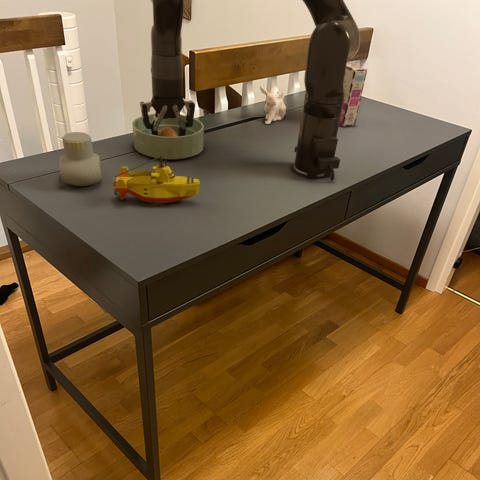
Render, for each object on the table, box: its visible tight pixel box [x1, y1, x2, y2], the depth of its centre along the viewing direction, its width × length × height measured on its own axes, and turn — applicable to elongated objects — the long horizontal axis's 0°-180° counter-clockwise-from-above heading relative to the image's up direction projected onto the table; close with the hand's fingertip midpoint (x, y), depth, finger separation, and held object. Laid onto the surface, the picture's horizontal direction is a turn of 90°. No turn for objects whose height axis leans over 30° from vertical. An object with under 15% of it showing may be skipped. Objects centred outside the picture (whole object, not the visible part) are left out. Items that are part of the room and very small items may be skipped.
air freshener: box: [59, 131, 103, 187], centre depth 103 cm, size 11×8×10 cm
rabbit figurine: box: [259, 83, 287, 125], centre depth 147 cm, size 12×8×10 cm, turn 138°
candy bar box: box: [339, 61, 368, 128], centre depth 148 cm, size 11×5×16 cm, turn 25°
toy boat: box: [112, 156, 201, 204], centre depth 99 cm, size 6×18×10 cm, turn 93°
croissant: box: [158, 127, 178, 137], centre depth 124 cm, size 5×11×4 cm, turn 21°
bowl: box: [131, 113, 205, 160], centre depth 123 cm, size 18×18×6 cm
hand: (168, 143), depth 125 cm, fingers open, 6 cm apart
